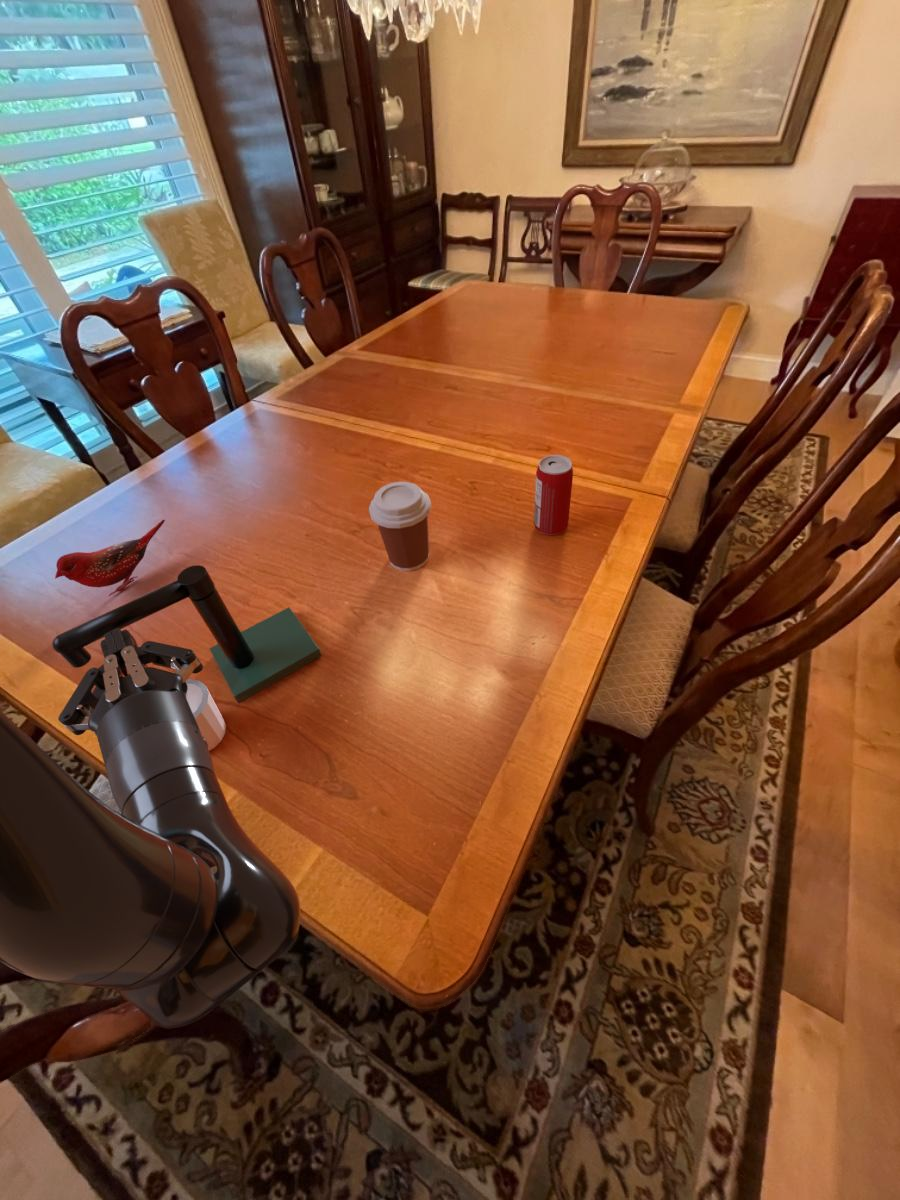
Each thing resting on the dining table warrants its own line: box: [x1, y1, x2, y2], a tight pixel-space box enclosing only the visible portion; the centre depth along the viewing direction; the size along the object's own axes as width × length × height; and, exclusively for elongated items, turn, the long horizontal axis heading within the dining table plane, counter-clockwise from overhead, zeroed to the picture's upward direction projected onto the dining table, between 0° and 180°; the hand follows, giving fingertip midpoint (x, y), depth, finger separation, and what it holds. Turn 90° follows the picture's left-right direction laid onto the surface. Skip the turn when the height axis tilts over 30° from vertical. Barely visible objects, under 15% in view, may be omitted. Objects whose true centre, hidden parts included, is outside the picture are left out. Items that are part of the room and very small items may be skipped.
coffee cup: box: [368, 481, 432, 572], centre depth 81 cm, size 9×9×12 cm
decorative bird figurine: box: [54, 519, 166, 597], centre depth 83 cm, size 3×18×10 cm, turn 146°
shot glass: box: [186, 678, 227, 752], centre depth 63 cm, size 7×7×7 cm
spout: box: [52, 564, 216, 669], centre depth 59 cm, size 17×3×4 cm, turn 126°
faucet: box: [189, 586, 323, 704], centre depth 68 cm, size 12×10×15 cm
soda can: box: [533, 454, 574, 536], centre depth 83 cm, size 6×6×12 cm
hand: (115, 636), depth 56 cm, fingers closed
